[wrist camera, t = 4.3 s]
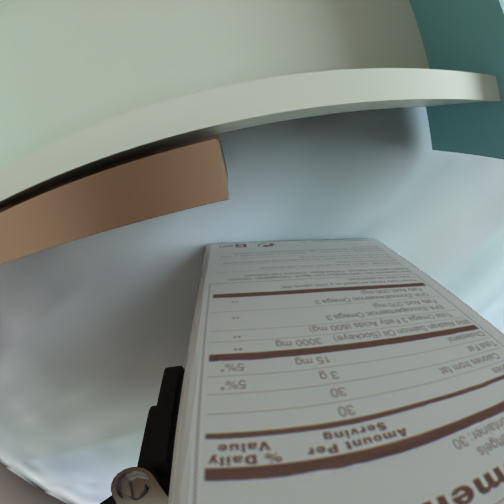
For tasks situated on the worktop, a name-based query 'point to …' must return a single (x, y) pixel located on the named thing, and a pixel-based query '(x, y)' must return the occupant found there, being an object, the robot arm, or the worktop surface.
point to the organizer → (115, 197)
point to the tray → (233, 74)
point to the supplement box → (336, 382)
